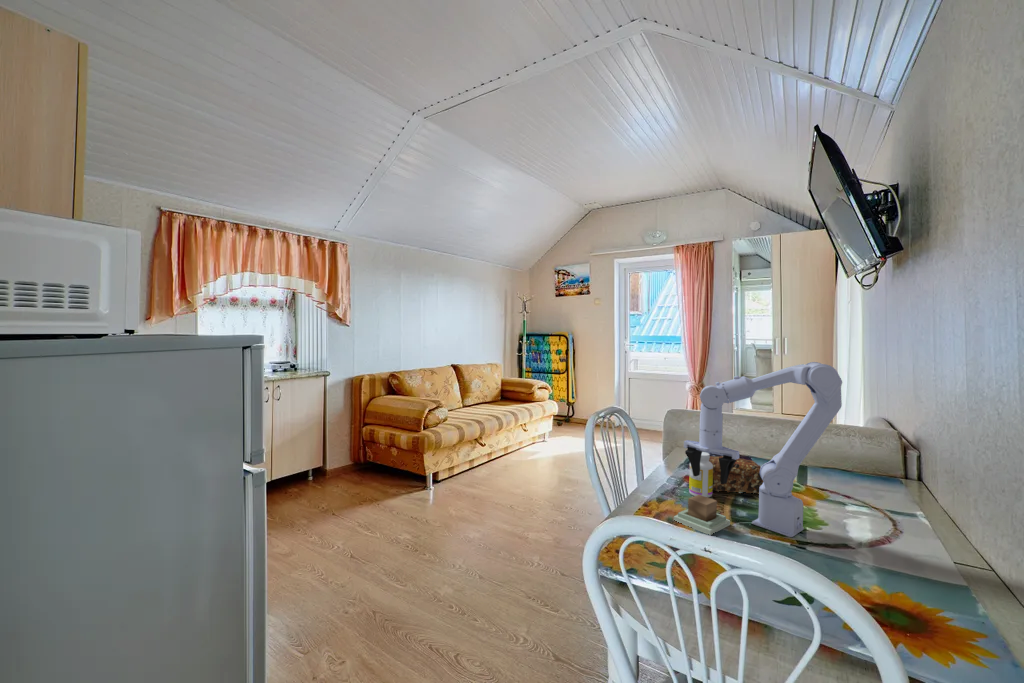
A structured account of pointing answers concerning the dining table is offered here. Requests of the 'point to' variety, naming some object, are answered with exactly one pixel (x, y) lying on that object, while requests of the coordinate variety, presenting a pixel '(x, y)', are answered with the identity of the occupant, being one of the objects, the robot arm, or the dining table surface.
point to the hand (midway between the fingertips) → (709, 479)
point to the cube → (702, 508)
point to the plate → (702, 522)
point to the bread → (737, 476)
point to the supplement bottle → (702, 478)
